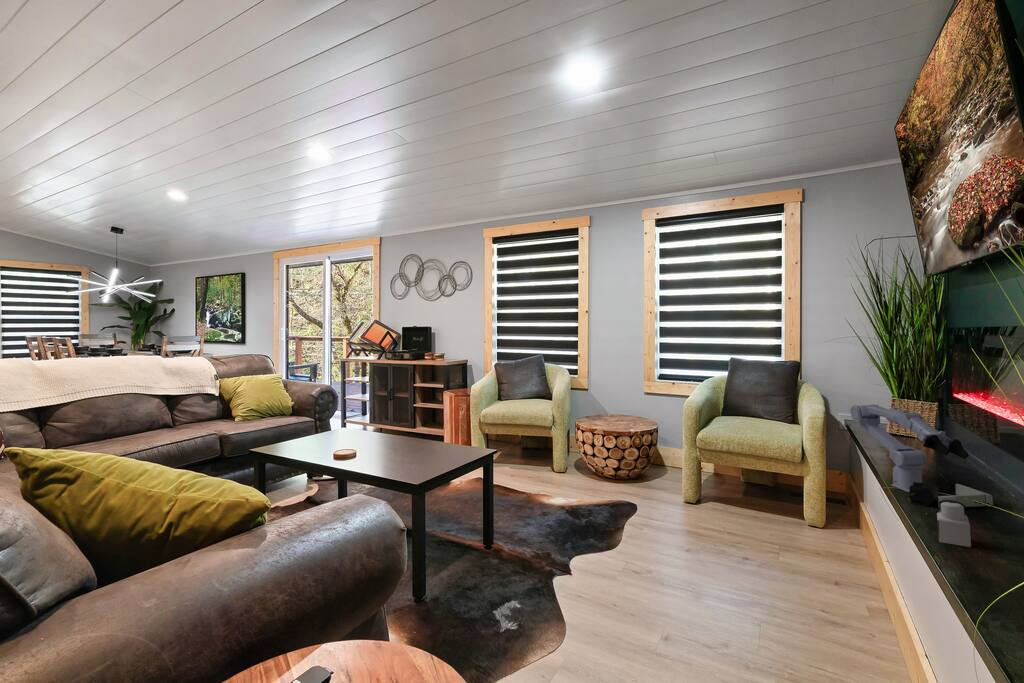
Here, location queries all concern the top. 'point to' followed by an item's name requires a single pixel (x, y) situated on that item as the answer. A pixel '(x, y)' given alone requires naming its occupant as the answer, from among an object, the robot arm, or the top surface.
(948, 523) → the medicine bottle
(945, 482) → the top surface
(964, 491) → the wall frame
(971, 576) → the top surface
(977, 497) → the door
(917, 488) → the end cap
